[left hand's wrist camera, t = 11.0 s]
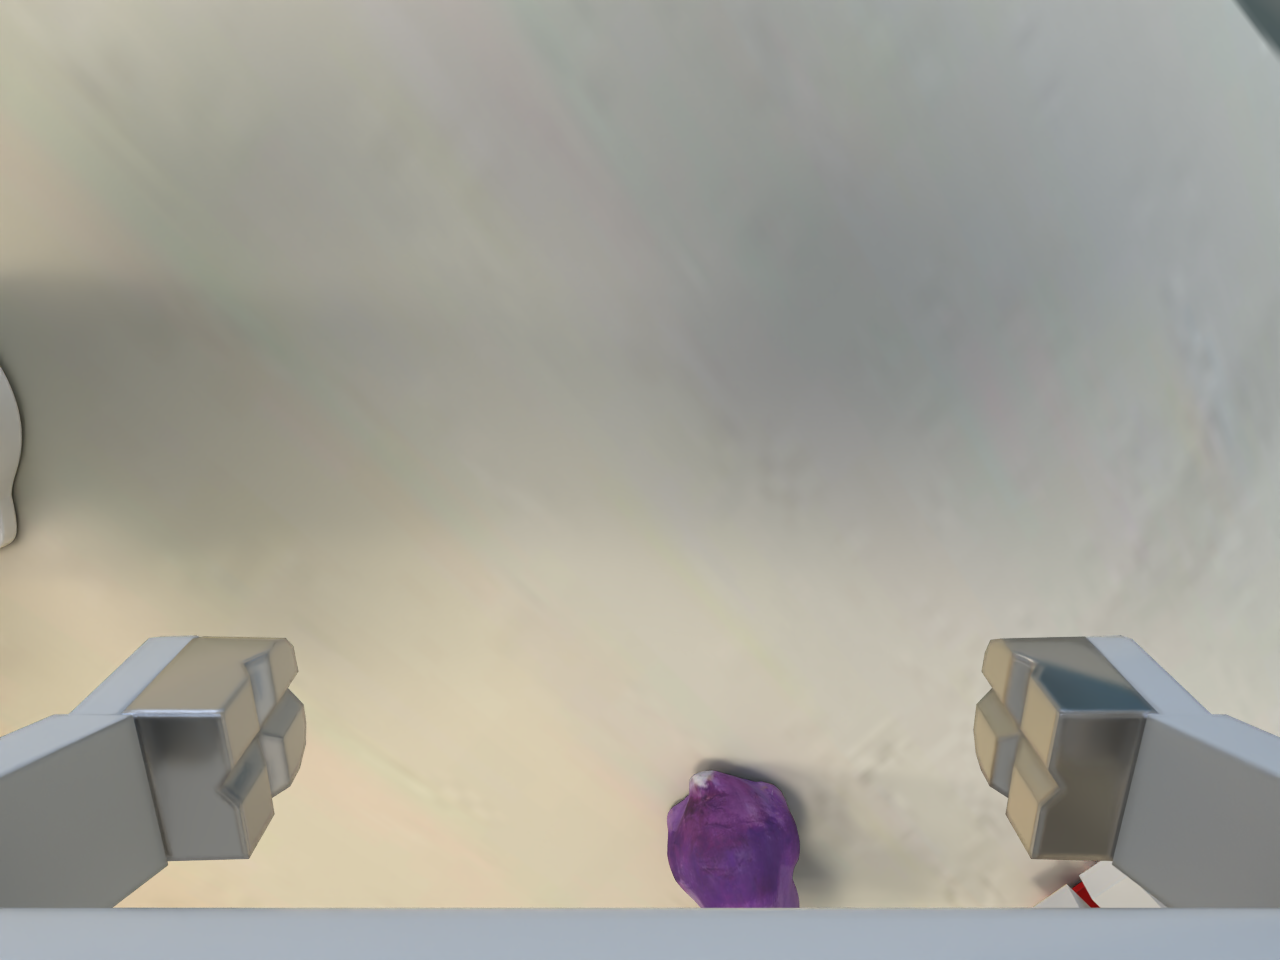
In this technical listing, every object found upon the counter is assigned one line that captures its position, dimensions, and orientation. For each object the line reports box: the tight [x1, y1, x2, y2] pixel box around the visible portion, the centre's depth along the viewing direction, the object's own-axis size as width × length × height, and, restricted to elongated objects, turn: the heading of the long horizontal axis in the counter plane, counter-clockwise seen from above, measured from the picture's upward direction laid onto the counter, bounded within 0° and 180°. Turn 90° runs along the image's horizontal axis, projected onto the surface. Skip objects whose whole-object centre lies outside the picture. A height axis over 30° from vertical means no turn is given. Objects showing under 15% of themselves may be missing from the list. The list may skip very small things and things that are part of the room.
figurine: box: [667, 770, 800, 908], centre depth 50 cm, size 9×10×15 cm
